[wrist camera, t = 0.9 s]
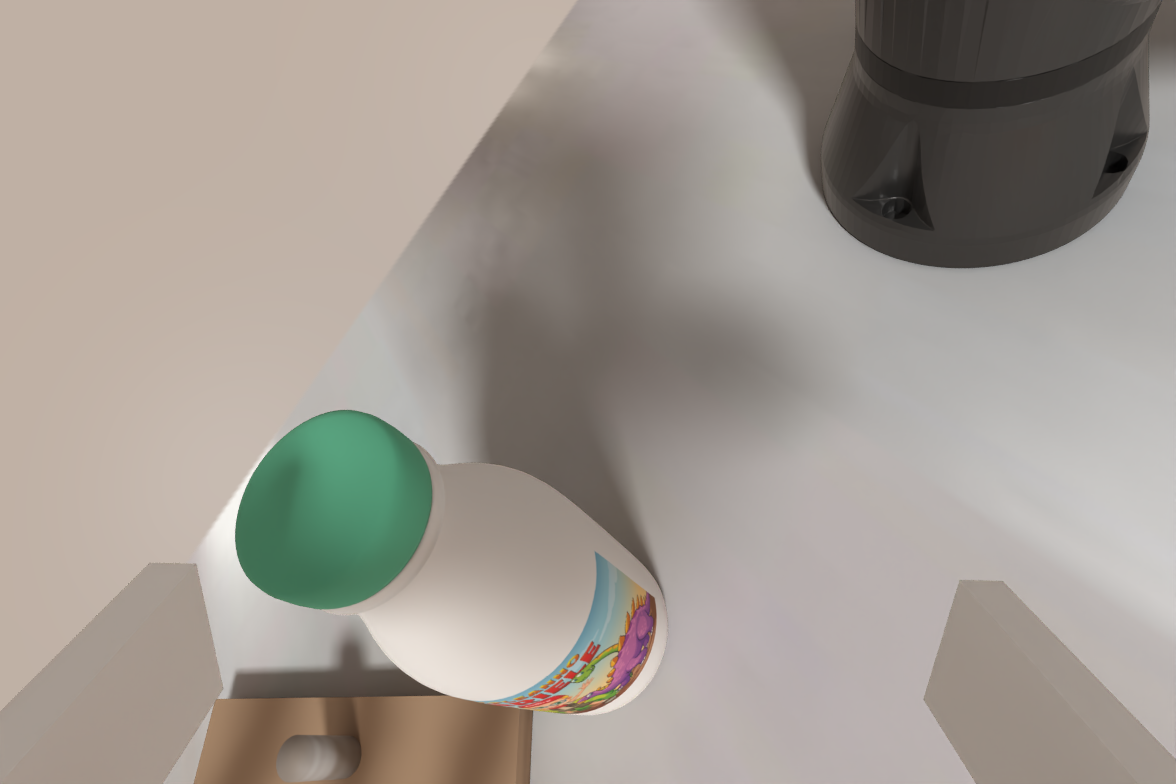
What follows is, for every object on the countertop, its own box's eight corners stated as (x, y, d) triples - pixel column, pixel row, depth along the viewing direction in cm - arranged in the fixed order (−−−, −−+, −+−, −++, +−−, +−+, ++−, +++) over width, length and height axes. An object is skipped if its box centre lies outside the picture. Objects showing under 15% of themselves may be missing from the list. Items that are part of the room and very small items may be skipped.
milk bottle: (498, 598, 33) (161, 455, 17) (624, 519, 33) (404, 295, 17) (558, 749, 29) (183, 756, 13) (702, 661, 29) (512, 547, 12)
